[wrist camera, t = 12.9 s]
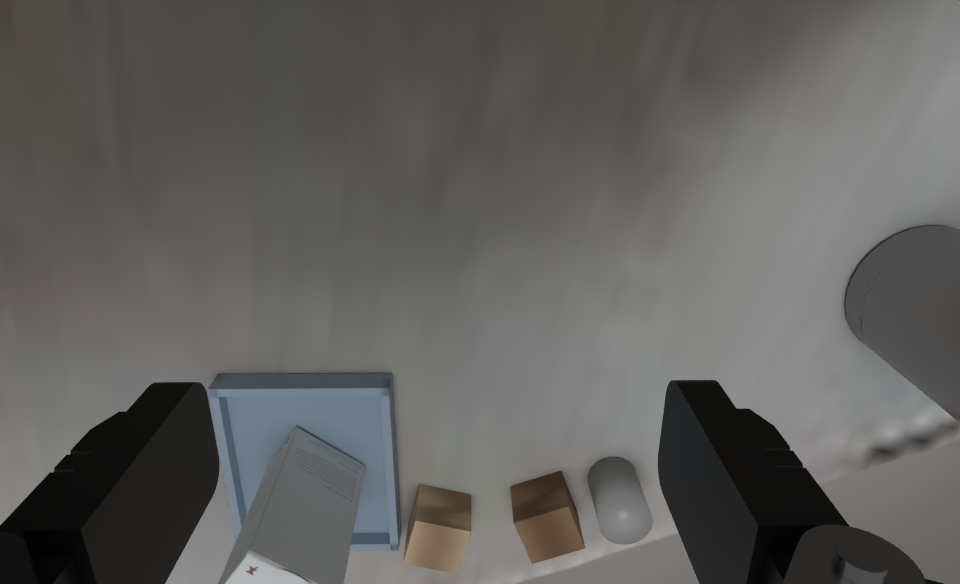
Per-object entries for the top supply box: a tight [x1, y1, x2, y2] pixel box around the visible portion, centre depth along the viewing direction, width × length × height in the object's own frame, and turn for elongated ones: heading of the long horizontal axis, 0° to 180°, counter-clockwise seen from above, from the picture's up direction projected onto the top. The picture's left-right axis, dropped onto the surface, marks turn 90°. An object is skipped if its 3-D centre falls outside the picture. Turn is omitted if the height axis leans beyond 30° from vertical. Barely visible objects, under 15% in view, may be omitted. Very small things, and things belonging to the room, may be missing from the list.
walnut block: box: [511, 471, 585, 564], centre depth 48 cm, size 4×4×4 cm
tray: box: [208, 373, 401, 551], centre depth 47 cm, size 12×14×2 cm
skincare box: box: [218, 427, 365, 584], centre depth 42 cm, size 6×4×12 cm
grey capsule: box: [588, 457, 653, 544], centre depth 47 cm, size 4×4×5 cm
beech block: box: [403, 484, 471, 574], centre depth 48 cm, size 4×4×4 cm
